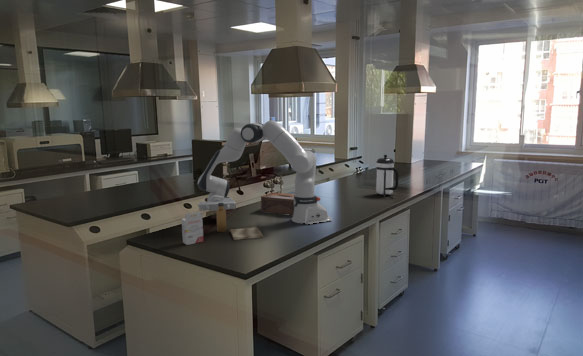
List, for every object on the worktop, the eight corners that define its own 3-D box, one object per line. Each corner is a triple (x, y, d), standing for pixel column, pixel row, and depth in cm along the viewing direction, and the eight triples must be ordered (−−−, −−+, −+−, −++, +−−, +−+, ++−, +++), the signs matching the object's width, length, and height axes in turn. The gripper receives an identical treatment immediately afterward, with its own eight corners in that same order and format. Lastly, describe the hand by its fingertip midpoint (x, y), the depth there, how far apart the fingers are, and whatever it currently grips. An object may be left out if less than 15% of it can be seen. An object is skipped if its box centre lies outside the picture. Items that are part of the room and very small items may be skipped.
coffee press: (372, 196, 291) (373, 155, 286) (374, 192, 306) (376, 153, 301) (397, 197, 286) (399, 156, 281) (398, 193, 301) (399, 153, 296)
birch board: (257, 229, 209) (257, 227, 209) (262, 237, 196) (262, 234, 196) (230, 231, 206) (230, 229, 205) (233, 239, 192) (233, 237, 192)
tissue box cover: (261, 212, 247) (260, 196, 246) (272, 207, 260) (272, 192, 258) (299, 216, 236) (299, 200, 235) (308, 211, 249) (308, 195, 247)
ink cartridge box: (199, 239, 194) (198, 209, 191) (203, 241, 190) (202, 211, 187) (182, 242, 189) (180, 212, 186) (186, 245, 185) (184, 214, 182)
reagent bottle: (225, 229, 210) (225, 201, 208) (227, 231, 206) (226, 203, 203) (216, 229, 209) (215, 202, 207) (217, 232, 204) (216, 204, 202)
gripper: (197, 198, 227) (198, 204, 214) (233, 197, 233) (236, 202, 220) (197, 209, 228) (199, 215, 215) (233, 207, 234) (237, 213, 221)
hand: (218, 208), depth 218 cm, fingers open, 8 cm apart
